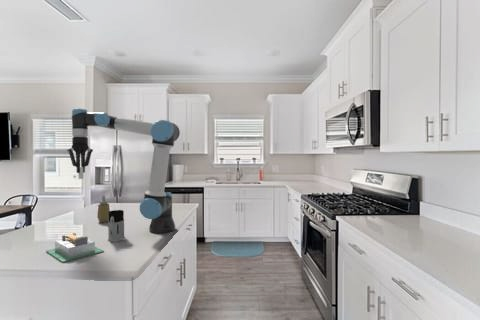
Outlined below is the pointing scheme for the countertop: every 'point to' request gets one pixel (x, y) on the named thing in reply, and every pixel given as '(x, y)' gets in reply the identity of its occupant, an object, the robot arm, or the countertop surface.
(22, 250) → the countertop surface
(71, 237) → the tan rectangular bar
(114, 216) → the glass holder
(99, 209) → the squeeze bottle
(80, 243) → the green base fixture
